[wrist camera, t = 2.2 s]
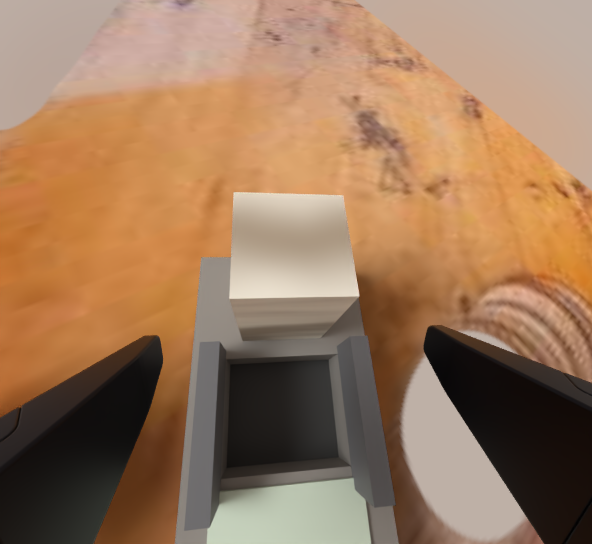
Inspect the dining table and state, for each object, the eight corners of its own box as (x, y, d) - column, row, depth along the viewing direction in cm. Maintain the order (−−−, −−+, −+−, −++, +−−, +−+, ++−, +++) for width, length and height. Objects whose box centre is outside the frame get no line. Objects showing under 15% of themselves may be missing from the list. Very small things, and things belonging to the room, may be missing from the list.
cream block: (320, 338, 18) (359, 296, 11) (242, 341, 17) (229, 298, 10) (313, 268, 20) (342, 195, 13) (243, 269, 20) (233, 192, 12)
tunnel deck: (386, 590, 16) (453, 691, 10) (181, 623, 14) (132, 761, 9) (341, 273, 24) (365, 235, 18) (208, 274, 22) (191, 234, 17)
